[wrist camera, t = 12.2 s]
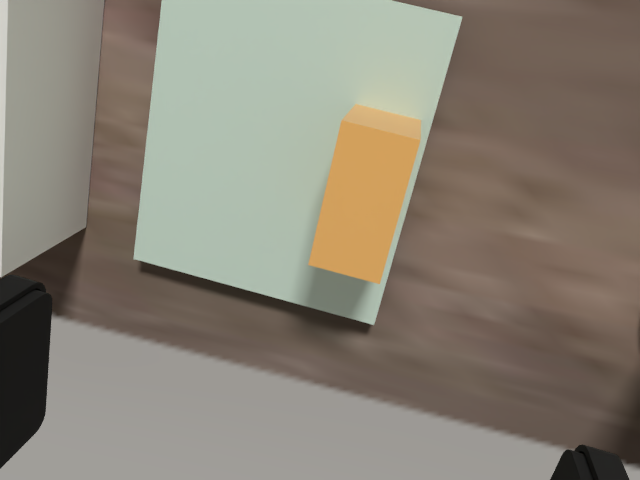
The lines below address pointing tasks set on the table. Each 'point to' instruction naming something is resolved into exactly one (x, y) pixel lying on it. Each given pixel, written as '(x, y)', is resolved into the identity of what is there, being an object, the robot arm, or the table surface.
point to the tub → (46, 122)
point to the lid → (289, 143)
